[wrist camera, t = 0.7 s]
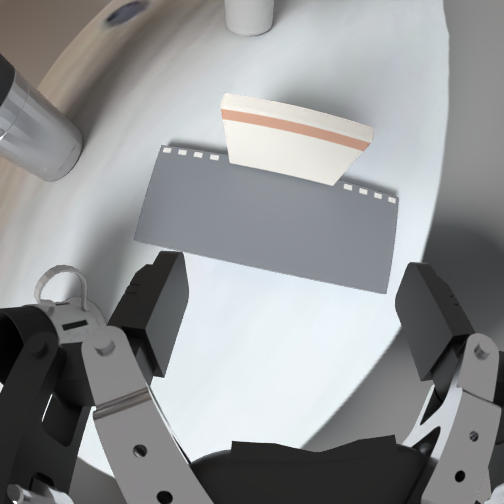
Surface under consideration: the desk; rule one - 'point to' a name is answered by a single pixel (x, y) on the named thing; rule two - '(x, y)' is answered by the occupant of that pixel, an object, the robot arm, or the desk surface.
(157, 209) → the board
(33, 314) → the glass holder
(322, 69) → the desk surface
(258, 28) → the can
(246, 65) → the desk surface
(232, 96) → the white square panel
